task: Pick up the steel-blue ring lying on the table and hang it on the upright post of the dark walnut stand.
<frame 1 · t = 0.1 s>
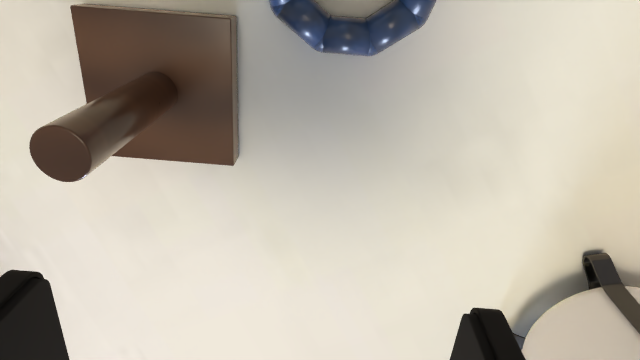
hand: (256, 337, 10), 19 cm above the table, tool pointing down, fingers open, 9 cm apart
coffee press: (575, 335, 35), on the table
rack: (166, 86, 27), on the table
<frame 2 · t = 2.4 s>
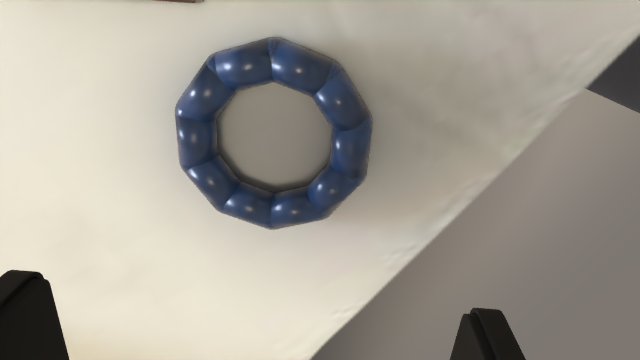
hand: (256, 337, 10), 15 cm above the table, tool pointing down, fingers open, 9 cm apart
ring: (273, 141, 22), point 1 cm above the table
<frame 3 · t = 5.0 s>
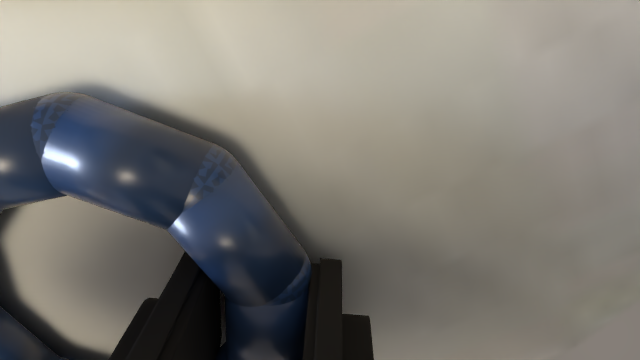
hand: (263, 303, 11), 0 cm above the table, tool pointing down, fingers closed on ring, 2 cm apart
ring: (103, 304, 10), point 1 cm above the table, touching gripper
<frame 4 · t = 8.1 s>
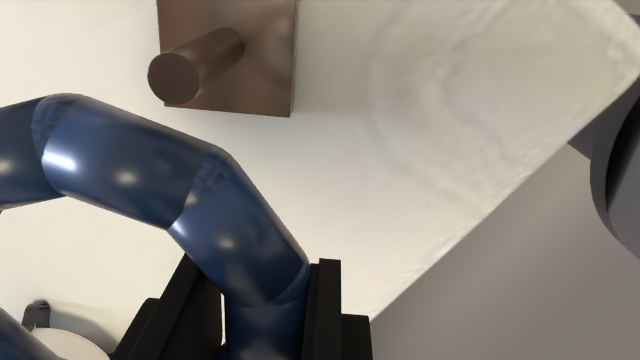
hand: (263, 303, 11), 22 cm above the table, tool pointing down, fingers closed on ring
coffee press: (60, 350, 44), on the table
ring: (103, 305, 10), point 23 cm above the table, touching gripper
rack: (231, 43, 30), on the table
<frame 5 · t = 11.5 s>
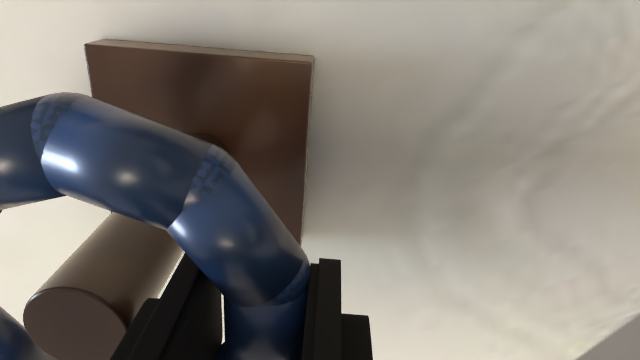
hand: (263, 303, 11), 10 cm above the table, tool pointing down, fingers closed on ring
ring: (102, 304, 10), point 11 cm above the table, touching gripper
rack: (211, 146, 20), on the table
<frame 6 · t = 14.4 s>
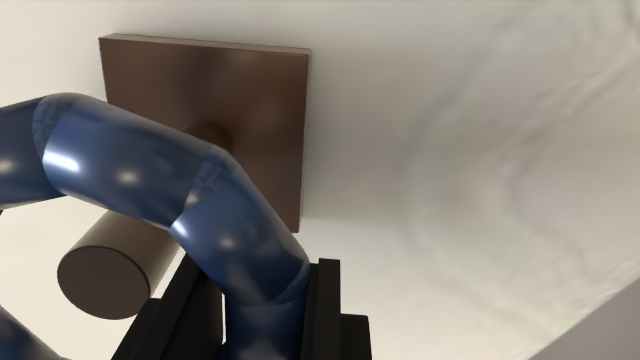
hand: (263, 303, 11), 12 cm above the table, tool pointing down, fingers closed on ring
ring: (103, 304, 10), point 12 cm above the table, touching gripper
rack: (215, 134, 21), on the table
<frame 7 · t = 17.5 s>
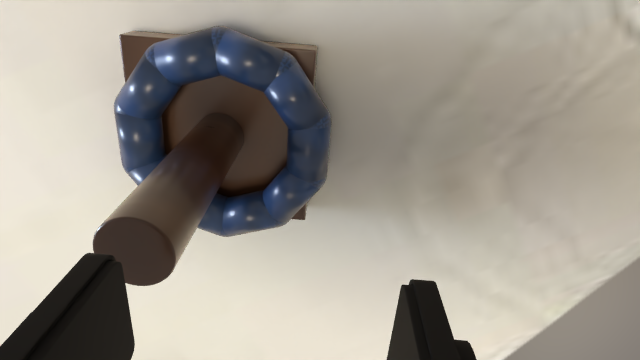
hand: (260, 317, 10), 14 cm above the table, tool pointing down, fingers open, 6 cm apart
ring: (224, 141, 20), point 2 cm above the table, touching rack
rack: (227, 126, 23), on the table
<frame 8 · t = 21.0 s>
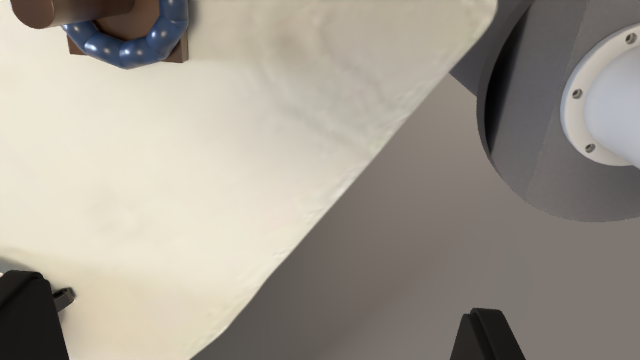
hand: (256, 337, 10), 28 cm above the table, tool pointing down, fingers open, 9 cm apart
coffee press: (2, 296, 47), on the table
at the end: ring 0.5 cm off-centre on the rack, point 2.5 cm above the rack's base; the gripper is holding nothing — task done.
